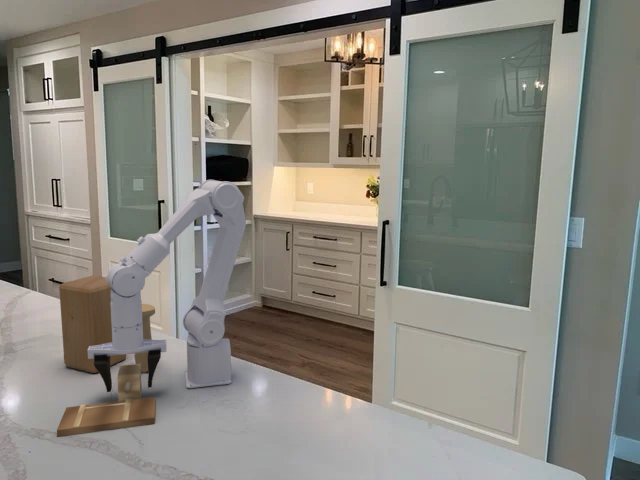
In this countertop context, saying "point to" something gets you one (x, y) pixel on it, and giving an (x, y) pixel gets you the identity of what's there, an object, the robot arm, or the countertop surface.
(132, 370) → the pale wood holed block
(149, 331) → the handle
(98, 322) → the wooden block
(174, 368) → the countertop surface
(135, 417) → the walnut board
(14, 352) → the countertop surface
